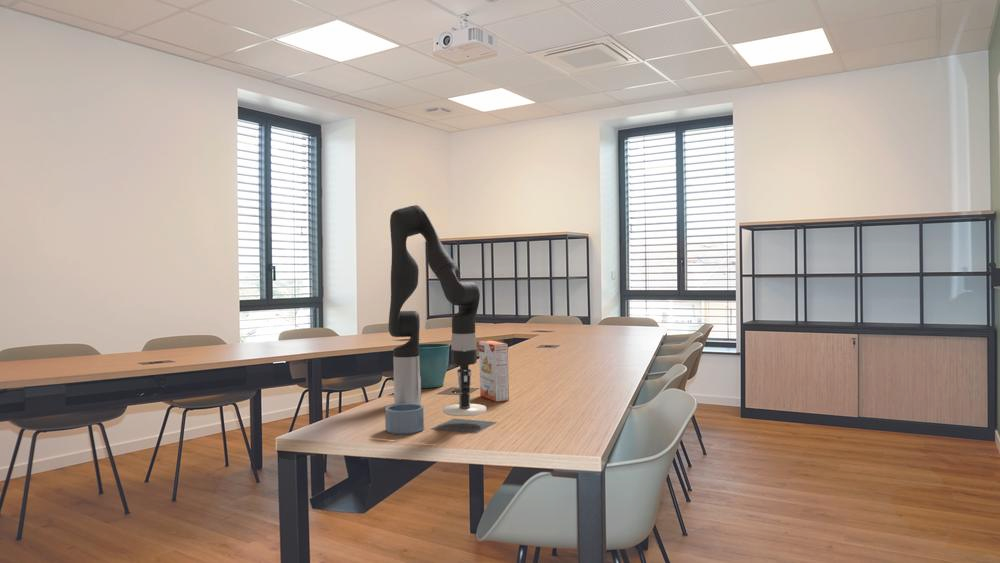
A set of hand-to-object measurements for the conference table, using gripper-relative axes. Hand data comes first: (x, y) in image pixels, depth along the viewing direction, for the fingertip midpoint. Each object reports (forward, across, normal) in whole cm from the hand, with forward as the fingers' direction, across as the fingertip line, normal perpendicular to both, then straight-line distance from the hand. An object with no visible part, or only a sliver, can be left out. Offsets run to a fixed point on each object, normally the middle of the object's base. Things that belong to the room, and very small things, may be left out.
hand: (464, 404), depth 194 cm
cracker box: (+7, -42, +13) cm, 45 cm away
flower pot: (+8, -75, -10) cm, 76 cm away
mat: (+7, 0, 0) cm, 7 cm away
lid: (+2, 0, 0) cm, 2 cm away
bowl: (+7, +3, -18) cm, 19 cm away
